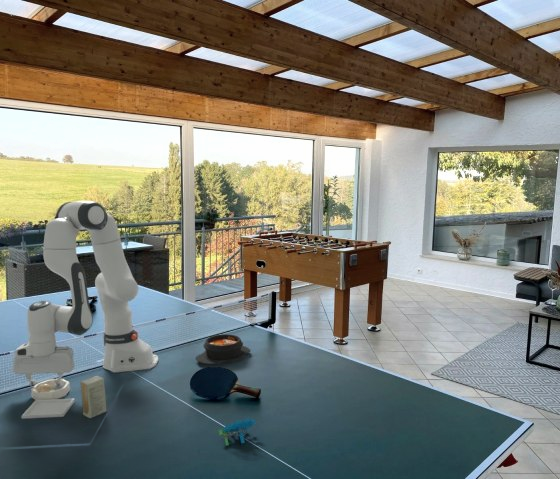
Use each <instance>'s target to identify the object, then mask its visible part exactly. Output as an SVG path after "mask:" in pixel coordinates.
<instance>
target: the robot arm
mask: <svg viewBox="0 0 560 479" xmlns="http://www.w3.org/2000/svg"><path fill="white" fill-rule="evenodd" d="M45 226H46V227H45V231H44V237H43V238H44V239H43V260H44V265H45V266H46V267H47V268H48V269H49V270H50V271H51V272H53V273H55V274H56V275H58V276H60V277H61V278H63V279H64V280H66V282H67V283H68V285H69V289H70V295H71V302H72V303H71V304H72V306H71V305H69V306H68V305H61V304H55V303H52V302H51V301H49V300H41V301H40V300H39V301H36V302H34V303H33V302H32V303H31V304H30V305H29V307H28V308H27V313H26V326H27V327H26V329H27V331H28V332H27V333H28V335H29V336H28V341H27V342H26V343H23V344H21V345H19V346H18V347H17V348H16V349H14V352H13V353H14V358H13V360H12V370H13V371H12V372H13V373H14V374H15V375H25V378H26V379H27V380H28V382H29V386H35V385H36V384H37V382H36V378H33V376H32V375H36V374H57V376H58V378H57V377H56V378H55V379H56V380H55V384H60V383H61V379H62V377H63V376H64V374H65V373H67V374H69V373H71V372H72V371H73V370H74V368H75V360H74V349H72V347H69V346H67V345H66V346H57V339H56V338H57V335H56V333H66V334H71V335H76V336H82V335H84V334H85V333H87V332H88V331H89V330H90V329H91V328H92V326H93V324H94V322H93V321H94V316H93V312H92V310H91V307H90V300H89V294H88V293H89V291H88V287H87V279H86V277H87V276H86V272H85V269H84V266H83V264H81V263H80V261H79V258H78V254H77V237H78V234H79V232H80V231H84V230H87V232H88V233H89V236H90V241H91V245H92V250H93V255H94V259H95V262H96V264H97V266H98V267H99V270H100V272H99V273H98V274H97V276H96V277H95V280H94V285H95V288H96V290H97V293H98V297H99V303H100V305H101V309H102V316H103V326H104V329H103V330H104V332H103V344H104V356H103V362H102V365H103V366H102V368H103V369H105V370H108V371H110V372H111V373H123V372H132V371H140V370H150V369H152V368H154V367H156V366H157V364H158V363H159V356H158V355H157V354H154V353H153V349H152V346H151V345H150V344H148V343H146V342H145V341H143V340H142V339H140V338H139V336H138V335H139V334H138V332H139V330H135V329H133V316H132V315H133V313H132V310H131V308H130V306H129V303H128V302H130V301H133V300H134V299H135V298H136V297H137V295H138V294H139V285H138V282H137V280H135V278H134V275H133V274H132V271H131V269H130V266H129V265H128V262H127V260H126V256H125V253H124V249H123V244H122V239H121V235H120V230H119V228H118V225H117V222H116V221H115V218H114V216H113V215H112V214H109V213H107V212H106V209H105V208H104V207H103V206H102V204H101V203H99V202H96V201H93V200H77V201H68V202H65V203H63V204H61V205H59V207H58V209H57V211H56V214H55V217H54V218H53V219H51V220H50V221H48V222H47V224H46V225H45Z"/></svg>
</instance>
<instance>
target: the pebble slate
mask: <svg viewBox="0 0 560 479" xmlns="http://www.w3.org/2000/svg"><path fill="white" fill-rule="evenodd" d="M63 387H64V385H63V384H57V385H56V386H55V387H54V391H55V390H58V389H61V388H63Z"/></svg>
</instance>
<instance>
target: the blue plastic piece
mask: <svg viewBox="0 0 560 479" xmlns="http://www.w3.org/2000/svg"><path fill="white" fill-rule="evenodd" d="M255 424H256V422H255V419H254V418H251V419H250V418H245V419H244V421H242V420H241V419H240V420H237V421H236V422H230V423H229V425H226V426H224V427H223V429H219V430H218V433H219V434H218V435H219V436H222V439H224V441H225V445H226V446H228V447H229V439H228V438H230V437H233V436H237V435H239V439H240V444H241V445H243V444H245V443H246V442H245V439H244V435H243V433H244V431H247V430H249V428H250V429H251V428H253V426H254V425H255Z"/></svg>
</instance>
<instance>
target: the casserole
mask: <svg viewBox="0 0 560 479" xmlns="http://www.w3.org/2000/svg"><path fill="white" fill-rule="evenodd" d="M202 347H203V348H204V349H205V350H204V351H203V352H202V353H200V354H198V355H196V356H195V360H196V361H197V362H198V363H201V364H203V365H208V366H209V365H217V364H225V363H232V362H236V361H239V360H240V359H242V358H244V357H245V356H246V355H247V354H249V353H251V351H252V350H251V349H250V348H249V347H247V346H244V342H243V341H242V339H241V338H240V336H237V335H234V334H217V335H212V336H210V337H208V338H206V339H205V341H204V343H203V346H202Z"/></svg>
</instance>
